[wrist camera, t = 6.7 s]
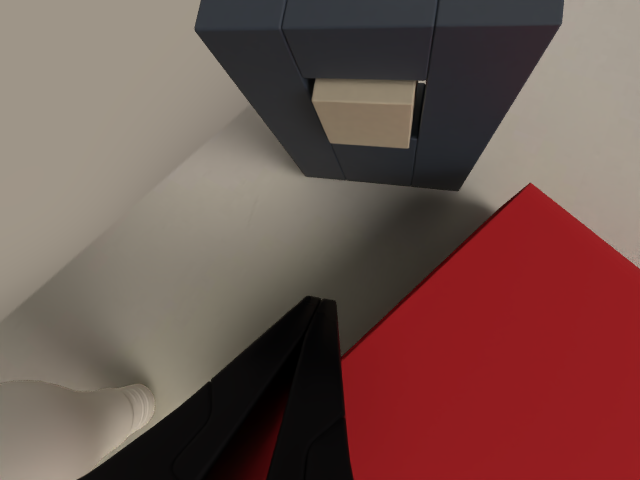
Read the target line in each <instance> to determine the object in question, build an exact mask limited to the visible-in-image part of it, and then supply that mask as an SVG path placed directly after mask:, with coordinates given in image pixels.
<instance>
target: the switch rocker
mask: <svg viewBox="0 0 640 480" xmlns="http://www.w3.org/2000/svg"><path fill="white" fill-rule="evenodd" d="M417 87H418V80H372V79H325V78H315V84H314V89H313V94H312V103H313V105H314V108H315V110H316V112H317V115H318V117H319V119H320V121H321V124H322V126H323V128H324V131H325V133H326V135H327V138H328V140H329V142H330V143H335V144H349V145H364V146H378V147H393V148H409V143H410V136H411V129H412V122H413V115H414V108H415V101H416V94H417Z"/></svg>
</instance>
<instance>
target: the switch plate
mask: <svg viewBox="0 0 640 480" xmlns="http://www.w3.org/2000/svg"><path fill="white" fill-rule="evenodd" d="M563 6H564V0H201V3H200V7H199V11H198V15H197V19H196V24H195V32H196V33H197V34H198V35H199V37H200V38H201V39H202V41H203V42H204V43H205V45H206V46H207V47H208V49H209V50H210V51H211V53H212V54H213V55H214V56H215V58H216V59H217V60H218V62H219V63H220V64H221V66H222V67H223V68H224V70H226V72H227V74H228V75H229V76H230V78H231V79H232V80H233V81H234V83H235V84H236V85H237V87H238V88H239V89H240V91H241V92H242V93H243V95H244V96H245V97H246V99H247V100H248V101H249V103H250V104H251V105H252V106H253V108H254V109H255V110H256V112H257V113H258V114H259V116H260V117H261V118H262V120H263V121H264V122H265V124H266V125H267V126H268V127H269V129H270V130H271V131H272V133H273V134H274V135H275V137H276V138H277V139H278V141H279V142H280V143H281V145H282V146H283V147H284V148H285V150H286V151H287V152H288V154H289V155H290V156H291V158H292V159H293V160H294V162H295V163H296V164H297V166H298V167H299V168H300V169H301V171H302V172H303V173H304V175H305V176H307V177H317V178H328V179H338V180H349V181H360V182H370V183H381V184H391V185H402V186H412V187H421V188H431V189H442V190H452V191H459V189H460V188H461V186H462V185H463V183H464V181H465V180H466V178H467V176H468V175H469V173H470V172H471V170H472V168H473V167H474V165H475V164H476V162H477V160H478V159H479V157H480V155H481V154H482V152H483V151H484V149H485V147H486V146H487V144H488V142H489V141H490V139H491V138H492V136H493V134H494V133H495V131H496V129H497V128H498V126H499V125H500V123H501V121H502V120H503V118H504V117H505V115H506V113H507V112H508V110H509V108H510V107H511V105H512V104H513V102H514V100H515V99H516V97H517V95H518V94H519V92H520V91H521V89H522V87H523V86H524V84H525V82H526V81H527V79H528V78H529V76H530V74H531V73H532V71H533V70H534V68H535V66H536V65H537V63H538V61H539V60H540V58H541V57H542V55H543V53H544V52H545V50H546V48H547V47H548V45H549V44H550V42H551V40H552V39H553V37H554V35H555V34H556V32H557V31H558V29H559V27H560V26H561V24H562V17H563ZM315 78H325V79H372V80H419V81H424V80H426V86H425V84H424V83H418V87H417V94H416V101H415V108H414V115H413V122H412V129H411V136H410V143H409V148H393V147H378V146H364V145H349V144H335V143H330V142H329V140H328V138H327V135H326V133H325V131H324V128H323V126H322V124H321V121H320V119H319V117H318V115H317V112H316V110H315V108H314V105H313V103H312V94H313V89H314V84H315Z"/></svg>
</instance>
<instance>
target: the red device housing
mask: <svg viewBox="0 0 640 480" xmlns="http://www.w3.org/2000/svg"><path fill="white" fill-rule="evenodd" d="M341 366H342V378H343V390H344V402H345V414H346V417H345V418H346V424H347V436H348V445H349V453H350V461H351V467H352V473H353V478H354V480H640V269H639V268H638V267H637V266H635V265H634V264H633V263H632V262H630V261H629V260H628V259H626V258H625V257H624V256H623V255H621V254H620V253H619V252H618V251H616V250H615V249H614V248H613V247H611V246H610V245H609V244H608V243H606V242H605V241H604V240H602V239H601V238H600V237H599V236H597V235H596V234H595V233H594V232H592V231H591V230H590V229H589V228H587V227H586V226H585V225H584V224H582V223H581V222H580V221H578V220H577V219H576V218H575V217H573V216H572V215H571V214H570V213H568V212H567V211H566V210H565V209H563V208H562V207H561V206H560V205H558V204H557V203H556V202H554V201H553V200H552V199H551V198H549V197H548V196H547V195H546V194H544V193H543V192H542V191H541V190H539V189H538V188H537V187H535V186H534V185H533V184H532V183H529V184H528V185H527V186H526V187H524V188H523V189H522V190H521V191H519V192H518V193H517V194H516V195H515V196H513V197H512V198H511V199H510V200H509V201H507V202H506V203H505V204H504V205H503V206H501V207H500V208H499V209H498V210H497V211H496V212H495V213H494V214H493V215H492V216H490V217H489V218H488V219H487V220H486V221H485V222H484V223H483V224H482V225H481V226H480V227H479V228H478V229H477V230H476V231H475V232H473V233H472V234H471V235H470V236H469V237H468V238H467V239H466V240H465V241H464V242H463V243H462V244H461V245H460V246H459V247H458V248H456V249H455V250H454V251H453V252H452V253H451V254H450V255H449V256H448V257H447V258H446V259H445V260H444V261H443V262H442V263H441V264H440V265H438V266H437V267H436V268H435V269H434V270H433V271H432V272H431V273H430V274H429V275H428V276H427V277H426V278H425V279H424V280H423V281H421V282H420V283H419V284H418V285H417V286H416V287H415V288H414V289H413V290H412V291H411V292H410V293H409V294H408V295H407V296H406V297H405V298H403V299H402V300H401V301H400V302H399V303H398V304H397V305H396V306H395V307H394V308H393V309H392V310H391V311H390V312H389V313H388V314H386V315H385V316H384V317H383V318H382V319H381V320H380V321H379V322H378V323H377V324H376V325H375V326H374V327H373V328H372V329H371V330H370V331H368V332H367V333H366V334H365V335H364V336H363V337H362V338H361V339H360V340H359V341H358V342H357V343H356V344H355V345H354V346H353V347H351V348H350V349H349V350H348V351H347V352H346V353H345V354H344V355H343V356H342V357H341Z"/></svg>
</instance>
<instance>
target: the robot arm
mask: <svg viewBox="0 0 640 480" xmlns="http://www.w3.org/2000/svg"><path fill="white" fill-rule="evenodd" d="M345 417H346V414H345V402H344V390H343V378H342V366H341V354H340V341H339V329H338V317H337V305H336V301H335V300H330V299H322V300H321V298H319V297H314V296H306V297H305V298H303V299H302V300H301V301H300V302H299V303H298V304H297V305H295V306H294V307H293V308H292V309H291V310H290V311H289V312H287V313H286V314H285V315H284V316H283V317H282V318H281V319H279V320H278V321H277V322H276V323H275V324H274V325H273V326H271V327H270V328H269V329H268V330H267V331H266V332H265V333H264V334H262V335H261V336H260V337H259V338H258V339H257V340H256V341H254V342H253V343H252V344H251V345H250V346H249V347H248V348H246V349H245V350H244V351H243V352H242V353H241V354H240V355H238V356H237V357H236V358H235V359H234V360H233V361H232V362H230V363H229V364H228V365H227V366H226V367H225V368H224V369H222V370H221V371H220V372H219V373H218V374H217V375H216V376H215V377H213V378H212V379H211V382H210V381H209V382H207V383H206V384H205V385H204V386H203V387H202V388H201V389H200V390H198V391H197V392H196V393H195V394H194V395H192V396H191V397H190V398H189V399H188V400H187V401H185V402H184V403H183V404H182V405H181V406H179V407H178V408H177V409H176V410H174V411H173V412H172V413H170V414H169V415H168V416H166V417H165V418H164V419H162V420H161V421H160V422H159V423H157V424H156V425H155V426H153V427H152V428H150V429H149V430H148V431H146V432H145V433H144V434H142V435H141V436H140V437H138V438H137V439H135V440H134V441H133V442H131V443H130V444H129V445H127V446H126V447H124V448H123V449H122V450H120V451H119V452H118V453H116V454H115V455H114V456H112V457H111V458H109V459H108V460H107V461H105V462H104V463H103V464H101V465H100V466H98V467H97V468H95V469H94V470H92V471H91V472H89V473H87V474H86V475H84V476H82V477H80V478H79V479H77V480H354V478H353V473H352V467H351V461H350V453H349V445H348V436H347V424H346V418H345Z"/></svg>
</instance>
